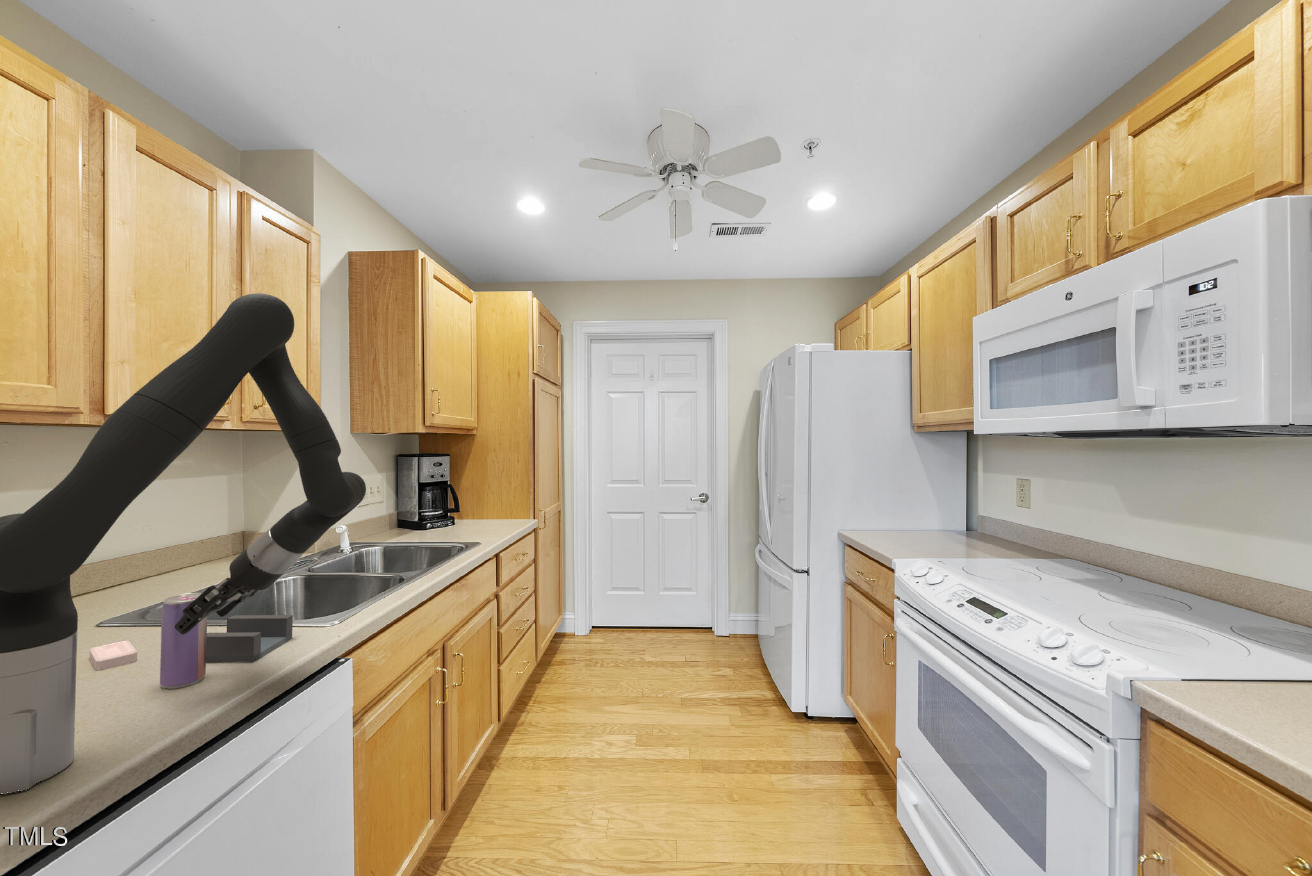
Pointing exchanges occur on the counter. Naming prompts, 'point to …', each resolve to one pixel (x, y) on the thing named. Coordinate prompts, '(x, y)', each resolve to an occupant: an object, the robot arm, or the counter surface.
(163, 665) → the beverage can
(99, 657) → the soap bar
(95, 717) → the counter surface
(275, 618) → the duct channel
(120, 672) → the counter surface
